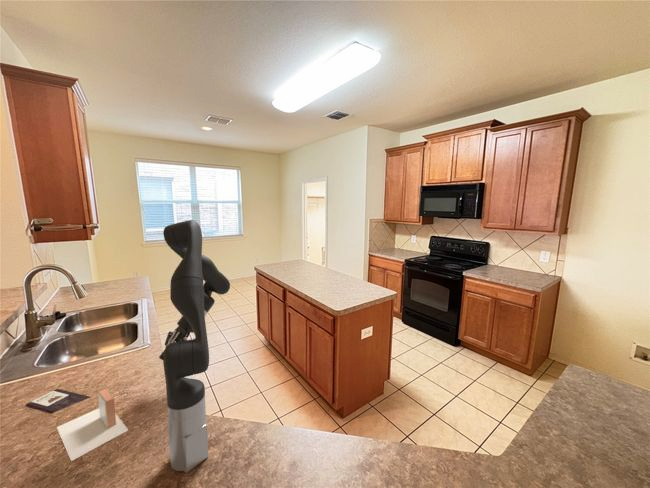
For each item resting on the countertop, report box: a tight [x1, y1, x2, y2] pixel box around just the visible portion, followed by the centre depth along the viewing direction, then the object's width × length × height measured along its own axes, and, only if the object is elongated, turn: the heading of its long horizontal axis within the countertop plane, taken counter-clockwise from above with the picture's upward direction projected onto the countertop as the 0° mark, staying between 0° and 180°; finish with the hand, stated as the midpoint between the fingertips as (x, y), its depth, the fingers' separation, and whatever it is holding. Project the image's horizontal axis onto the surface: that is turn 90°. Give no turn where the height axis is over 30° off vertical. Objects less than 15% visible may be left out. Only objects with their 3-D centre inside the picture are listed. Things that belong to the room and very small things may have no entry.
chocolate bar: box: [25, 388, 91, 414], centre depth 95 cm, size 9×1×18 cm
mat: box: [56, 407, 129, 462], centre depth 81 cm, size 20×13×1 cm, turn 54°
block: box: [97, 388, 116, 428], centre depth 84 cm, size 8×2×9 cm, turn 54°
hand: (161, 359), depth 97 cm, fingers closed
